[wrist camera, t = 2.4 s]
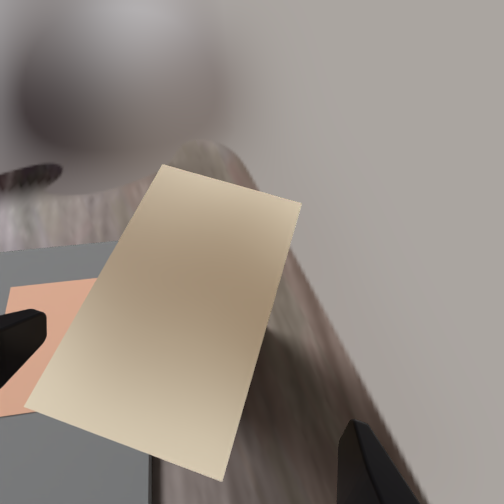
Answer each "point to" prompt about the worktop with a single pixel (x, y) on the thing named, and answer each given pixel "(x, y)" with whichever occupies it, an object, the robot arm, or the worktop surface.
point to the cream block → (174, 322)
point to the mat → (25, 379)
